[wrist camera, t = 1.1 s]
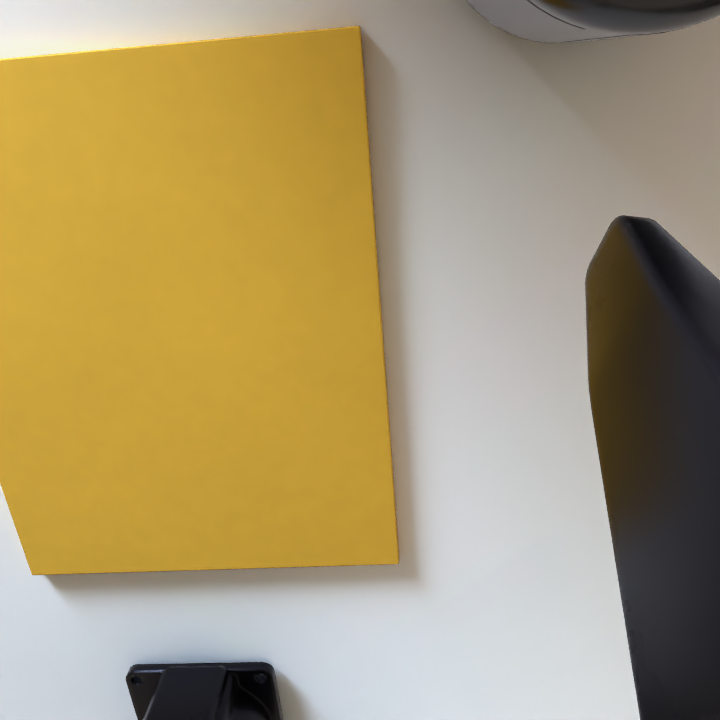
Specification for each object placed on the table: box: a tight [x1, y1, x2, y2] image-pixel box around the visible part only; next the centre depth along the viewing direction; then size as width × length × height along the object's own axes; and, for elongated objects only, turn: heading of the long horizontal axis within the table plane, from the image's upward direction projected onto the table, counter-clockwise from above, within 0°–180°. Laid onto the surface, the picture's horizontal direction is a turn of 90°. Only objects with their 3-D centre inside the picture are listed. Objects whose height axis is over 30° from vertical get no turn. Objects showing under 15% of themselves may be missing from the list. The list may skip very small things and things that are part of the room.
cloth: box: [0, 26, 399, 575], centre depth 24 cm, size 19×15×1 cm
